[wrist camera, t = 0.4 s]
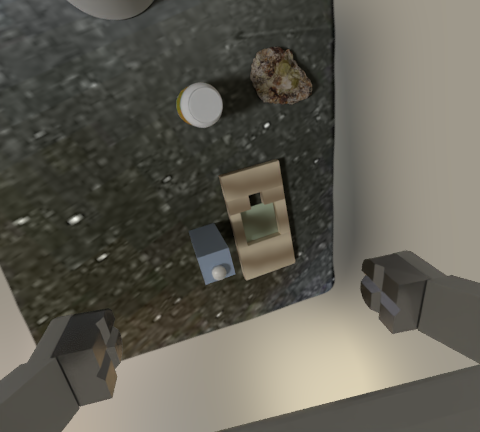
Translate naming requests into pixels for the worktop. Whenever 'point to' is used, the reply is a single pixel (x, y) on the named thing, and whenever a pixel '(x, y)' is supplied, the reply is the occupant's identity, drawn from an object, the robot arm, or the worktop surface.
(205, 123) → the supplement bottle
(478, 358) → the robot arm
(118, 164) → the worktop surface
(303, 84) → the mineral rock
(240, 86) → the worktop surface
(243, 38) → the worktop surface
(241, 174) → the board
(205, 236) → the block
